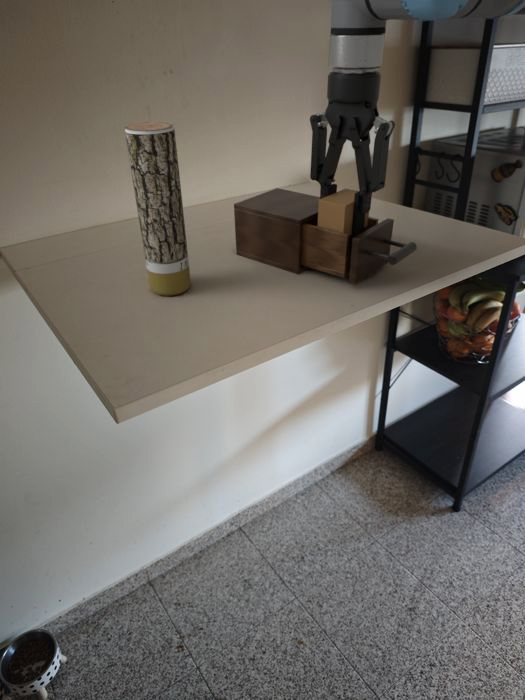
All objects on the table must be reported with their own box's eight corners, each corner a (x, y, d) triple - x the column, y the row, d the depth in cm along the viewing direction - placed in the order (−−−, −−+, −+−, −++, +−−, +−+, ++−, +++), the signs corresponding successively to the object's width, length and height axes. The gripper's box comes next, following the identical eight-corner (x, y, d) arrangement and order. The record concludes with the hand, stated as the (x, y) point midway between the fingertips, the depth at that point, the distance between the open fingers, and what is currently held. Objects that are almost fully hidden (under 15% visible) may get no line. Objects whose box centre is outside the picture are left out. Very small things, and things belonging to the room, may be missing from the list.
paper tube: (152, 300, 79) (125, 131, 66) (148, 282, 85) (123, 123, 71) (194, 294, 81) (176, 128, 67) (188, 277, 86) (171, 120, 73)
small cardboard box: (342, 219, 88) (345, 188, 85) (367, 225, 85) (371, 193, 82) (317, 232, 83) (318, 199, 80) (342, 239, 80) (345, 205, 77)
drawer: (418, 270, 85) (425, 226, 80) (386, 295, 78) (392, 247, 73) (324, 245, 95) (326, 204, 91) (288, 264, 88) (288, 221, 84)
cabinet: (337, 251, 95) (341, 201, 89) (298, 274, 87) (299, 220, 81) (277, 235, 102) (277, 187, 97) (236, 254, 94) (233, 204, 89)
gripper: (425, 70, 69) (402, 233, 81) (317, 65, 78) (311, 211, 91) (400, 75, 64) (379, 247, 77) (288, 69, 74) (286, 222, 86)
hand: (342, 227), depth 84 cm, fingers closed on small cardboard box, 5 cm apart
